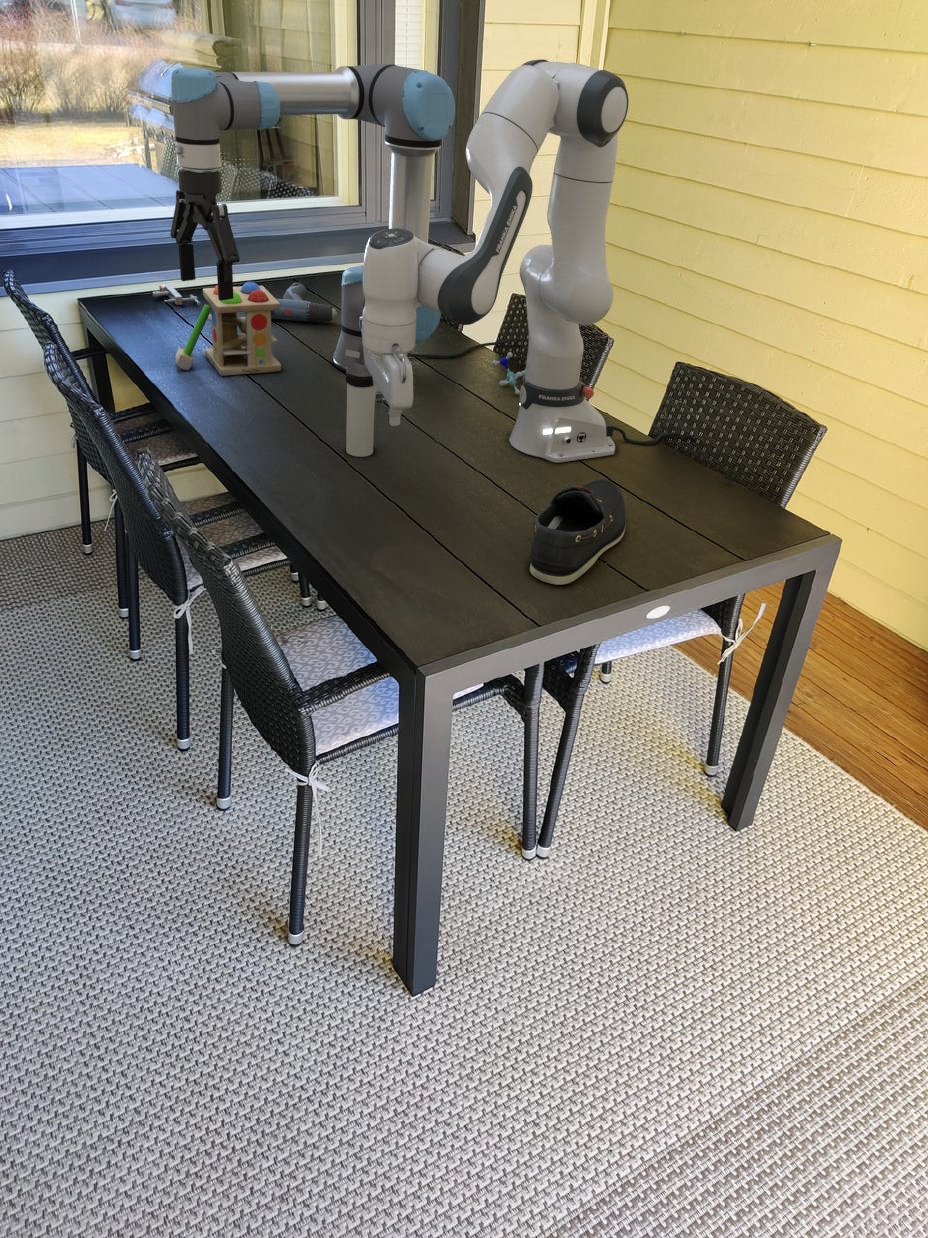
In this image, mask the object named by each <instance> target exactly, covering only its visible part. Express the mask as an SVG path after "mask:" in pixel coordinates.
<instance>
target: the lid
mask: <svg viewBox="0 0 928 1238" xmlns="http://www.w3.org/2000/svg"><path fill="white" fill-rule="evenodd" d="M345 382H346V384H347V383H348V384H350V385H352V386H356V387H370V386H373V385H374V383H373V377H372V376H371V374H370V372H369V371H368V369H367V368H366V366H352V367H349V368H348V369H347V370H346V372H345Z"/></svg>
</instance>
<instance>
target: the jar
mask: <svg viewBox="0 0 928 1238" xmlns="http://www.w3.org/2000/svg"><path fill="white" fill-rule="evenodd" d="M375 402H376V400H375V389H374V385H373V386H370V387H356V386H352V385H350V384H348V383H347V382H346V431H345V432H346V433H345V434H346V435H345V436H346V438H345V442H346V443H345V451H346V453H347V454H348V455H350V456H351V457H352V456H353V457H357V458H363V457H369V456H371V455H372V454H374V437H375V436H374V434H375V433H374V432H375V405H376V403H375Z"/></svg>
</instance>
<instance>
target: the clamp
mask: <svg viewBox="0 0 928 1238" xmlns="http://www.w3.org/2000/svg"><path fill="white" fill-rule="evenodd" d="M158 288H159V291H152V296H153V297H154V298H157V297H158V298H160V297H163V296H167V297H168V298H169V299H164V301H163V302H164V303H174V304H175V305H176V306H181V305H183V302H194V303H195V302H196V303H197V306H201V304H202V302H201V301H199V300H198V296H195V295H194V294H189V297H183V296H182V295H181V294H180V293H179V292H178V291H177V290H176V289H175V288H174V287H173V286H172V285H171V284H165V285H164V284H162V285H159V286H158Z"/></svg>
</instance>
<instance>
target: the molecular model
mask: <svg viewBox="0 0 928 1238" xmlns="http://www.w3.org/2000/svg"><path fill="white" fill-rule="evenodd" d="M512 357H513V353H512V352H510V351H509V352H507V355H506V357H502V358H501V359H500V360H492V361H491V365H492V366H498V365H501V366H503V367H504V368H505V370H506V372H507V374H506V379H505V380H500V381H499V386H501V387H504V386H505V387H506V386H507V385H509V386H511V387H512V388H513V389H514V394H515V396H520V389H518V387H517V385H516V384H517V380H518V379H519V378H521V377H522V378H523V376H524V375H525V371H526V367H525V368H524V370H521V371H517V372H516V373H514V372H513V371H511V370H510V368H509V365H508V362H509V359H510V358H512ZM526 362H527V358H526V359H525V363H526Z"/></svg>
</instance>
